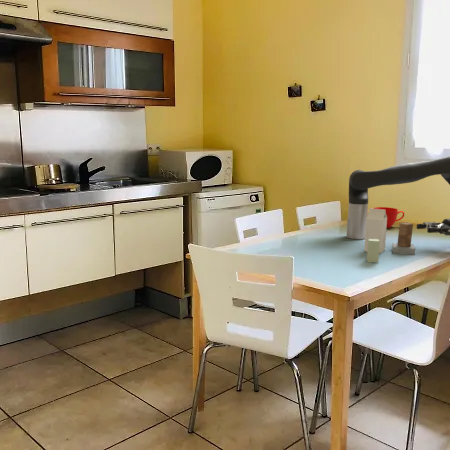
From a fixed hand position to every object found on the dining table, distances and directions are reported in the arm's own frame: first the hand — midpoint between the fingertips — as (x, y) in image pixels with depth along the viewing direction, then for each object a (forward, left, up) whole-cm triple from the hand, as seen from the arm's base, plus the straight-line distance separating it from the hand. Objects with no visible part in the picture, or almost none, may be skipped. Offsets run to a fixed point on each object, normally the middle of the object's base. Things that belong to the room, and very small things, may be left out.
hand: (422, 228), depth 231 cm
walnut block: (-7, -4, -8) cm, 11 cm away
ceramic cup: (-15, +51, -10) cm, 54 cm away
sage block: (-19, -26, -10) cm, 34 cm away
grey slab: (-7, -4, -11) cm, 14 cm away
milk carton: (-19, -8, -10) cm, 23 cm away
